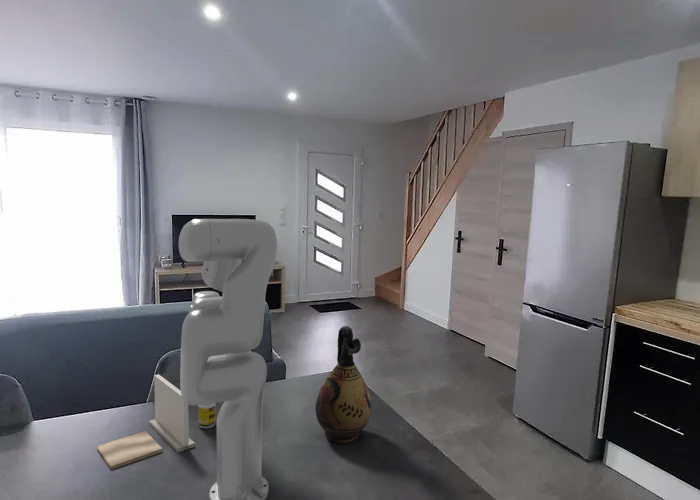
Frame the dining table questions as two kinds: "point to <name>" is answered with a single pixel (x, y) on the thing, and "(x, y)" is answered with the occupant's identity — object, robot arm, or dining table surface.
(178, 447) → the screen
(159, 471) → the dining table surface
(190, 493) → the dining table surface
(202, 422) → the supplement bottle
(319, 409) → the ceramic jug
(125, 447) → the coaster
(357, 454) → the dining table surface
